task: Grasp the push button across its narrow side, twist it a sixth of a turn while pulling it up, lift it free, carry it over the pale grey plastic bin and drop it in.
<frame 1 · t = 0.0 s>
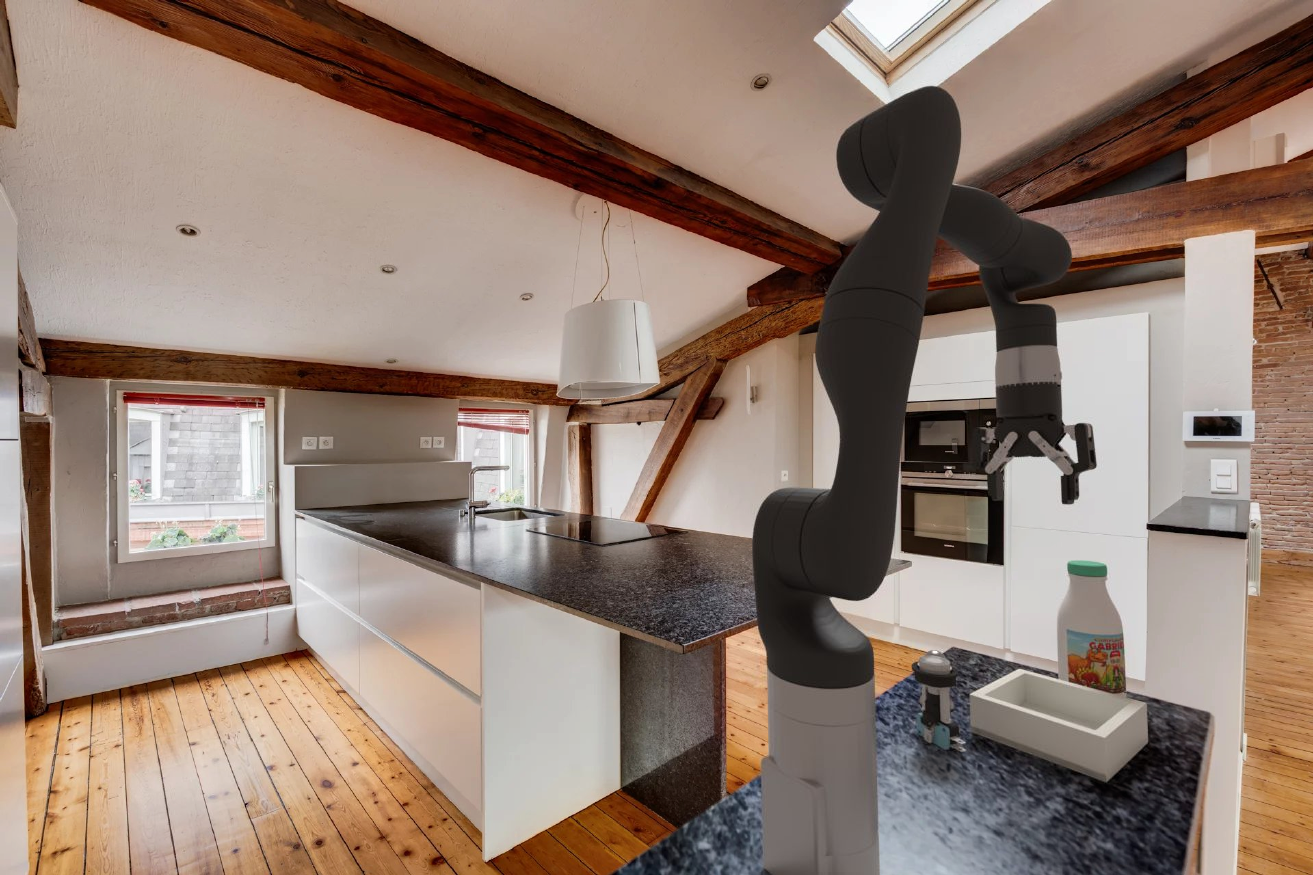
hand: (1031, 502, 78), 29 cm above the counter, fingers open, 8 cm apart
push button: (941, 744, 71), on the counter
milk bottle: (1092, 704, 82), on the counter
bin: (1057, 736, 72), on the counter
ball stud post: (936, 704, 82), on the counter
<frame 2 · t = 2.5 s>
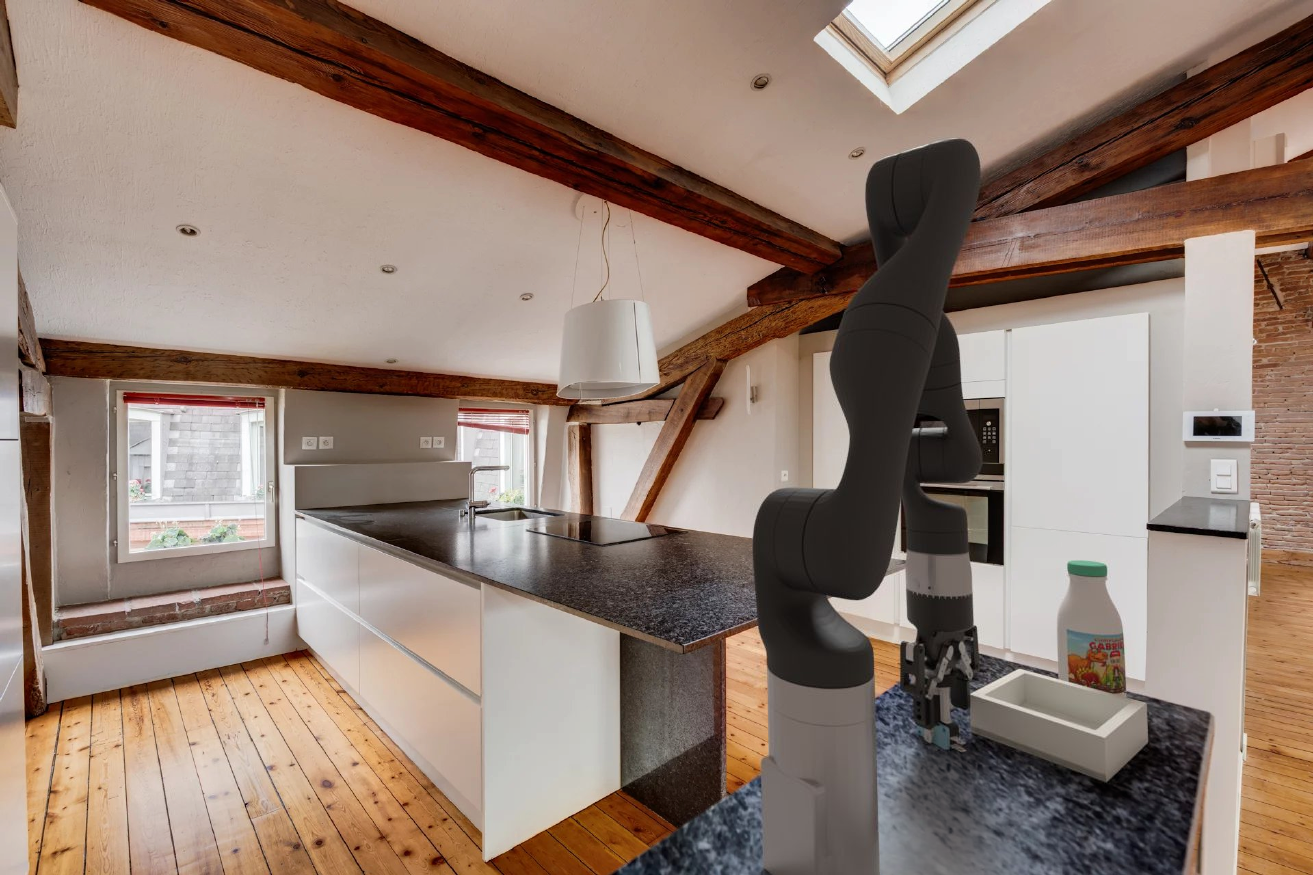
hand: (943, 716, 72), 3 cm above the counter, fingers open, 8 cm apart
nothing on the counter moved.
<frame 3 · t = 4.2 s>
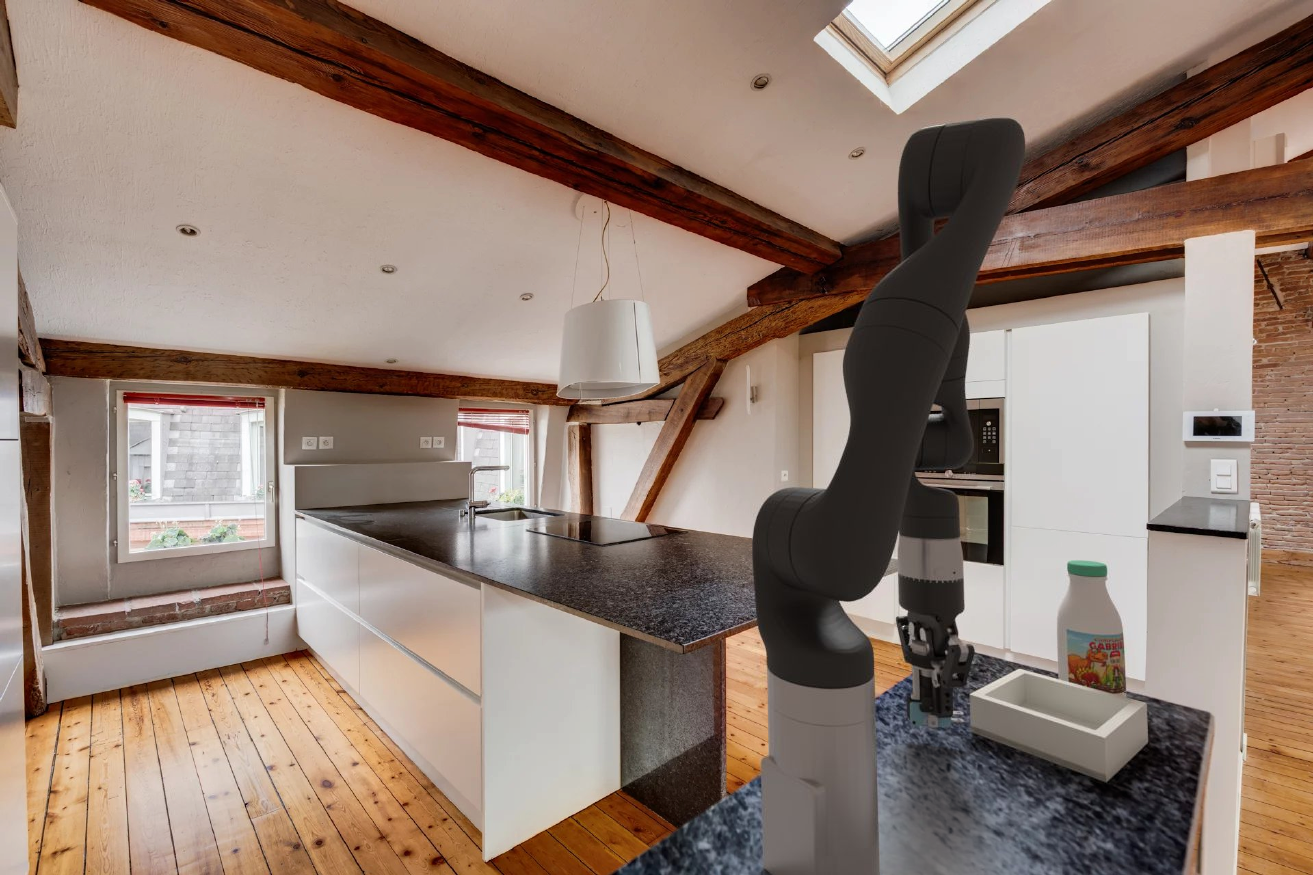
hand: (933, 708, 72), 4 cm above the counter, fingers closed on push button, 3 cm apart
push button: (935, 725, 72), point 2 cm above the counter, touching gripper
everything else where it was.
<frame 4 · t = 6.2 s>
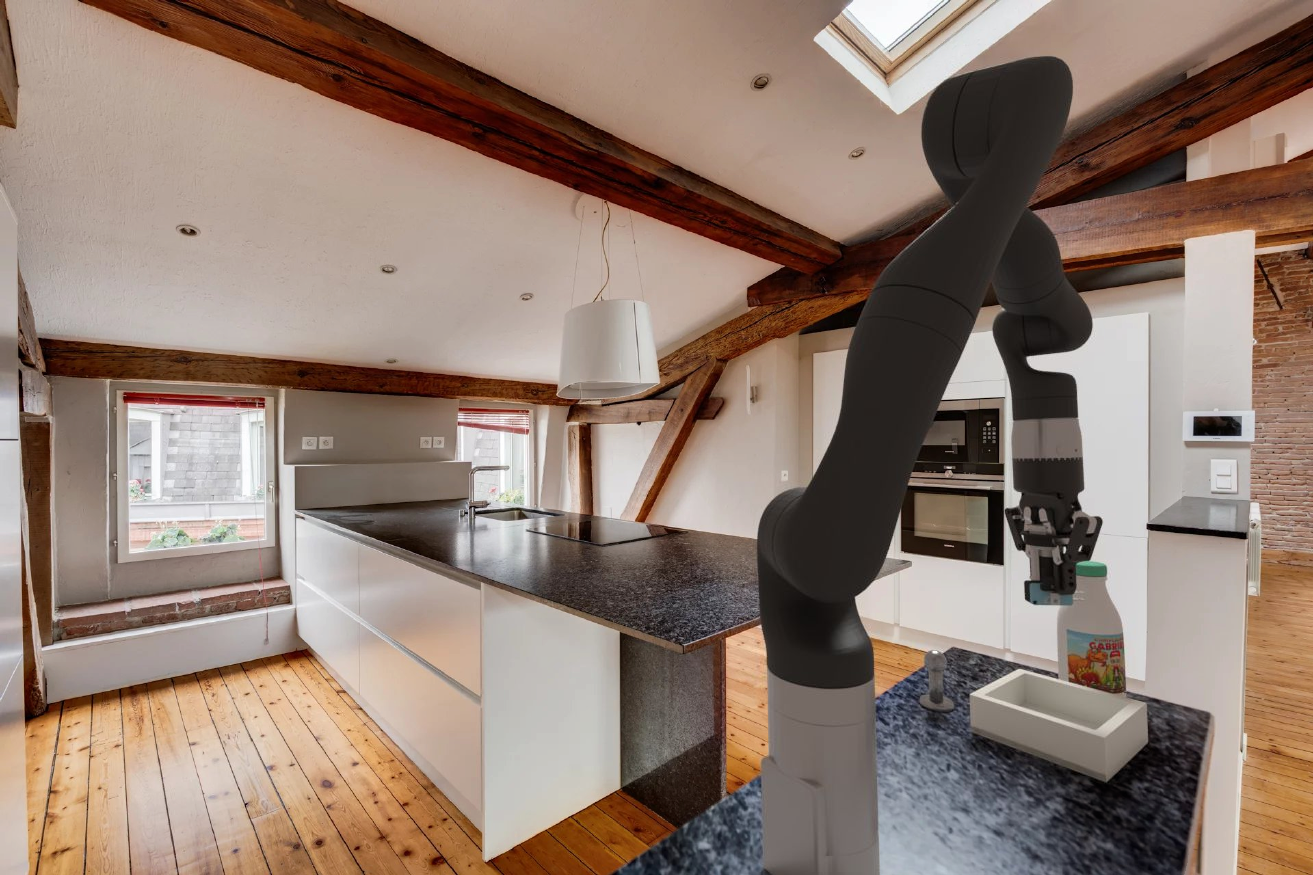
hand: (1052, 589, 73), 18 cm above the counter, fingers closed on push button, 3 cm apart
push button: (1055, 605, 73), point 17 cm above the counter, touching gripper
everything else where it was.
when the fingers open (5 cm above the counter, at t = 8.9 s): push button moves 1 cm, point 2 cm above the counter.
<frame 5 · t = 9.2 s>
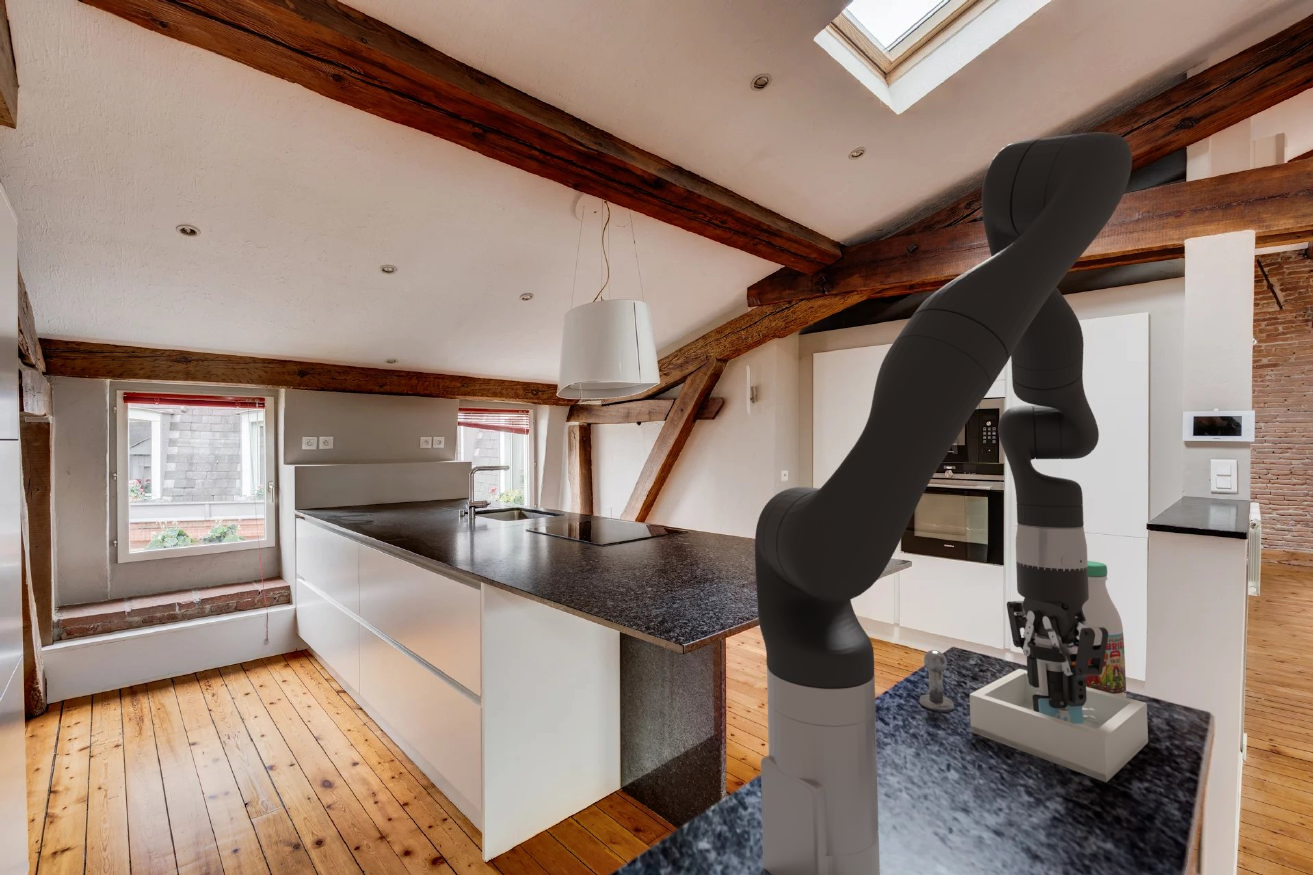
hand: (1055, 694, 73), 5 cm above the counter, fingers open, 5 cm apart
push button: (1065, 722, 71), point 2 cm above the counter, touching gripper
everything else where it was.
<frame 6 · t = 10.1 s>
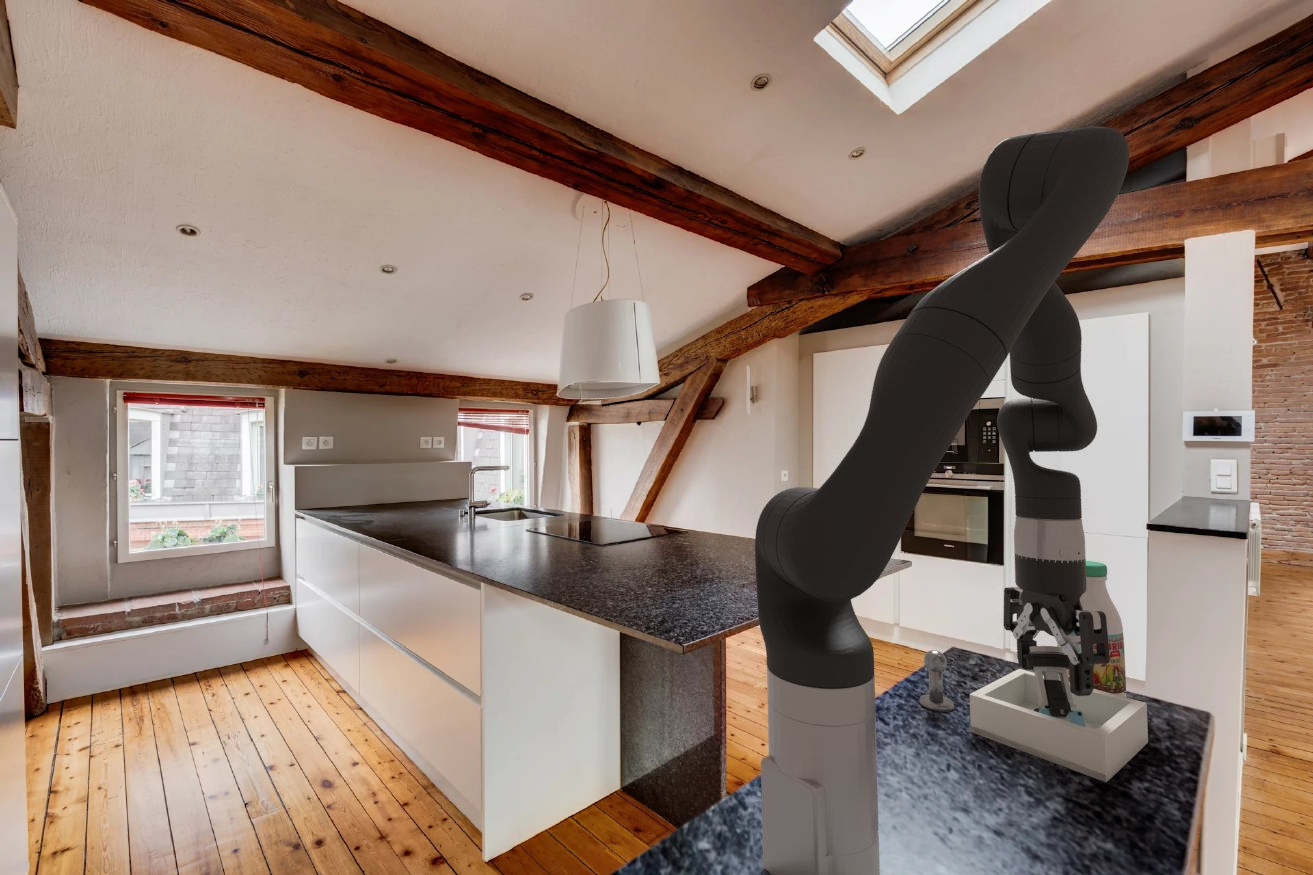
hand: (1052, 680, 73), 7 cm above the counter, fingers open, 8 cm apart
push button: (1069, 735, 70), point 1 cm above the counter, touching bin, gripper
everything else where it was.
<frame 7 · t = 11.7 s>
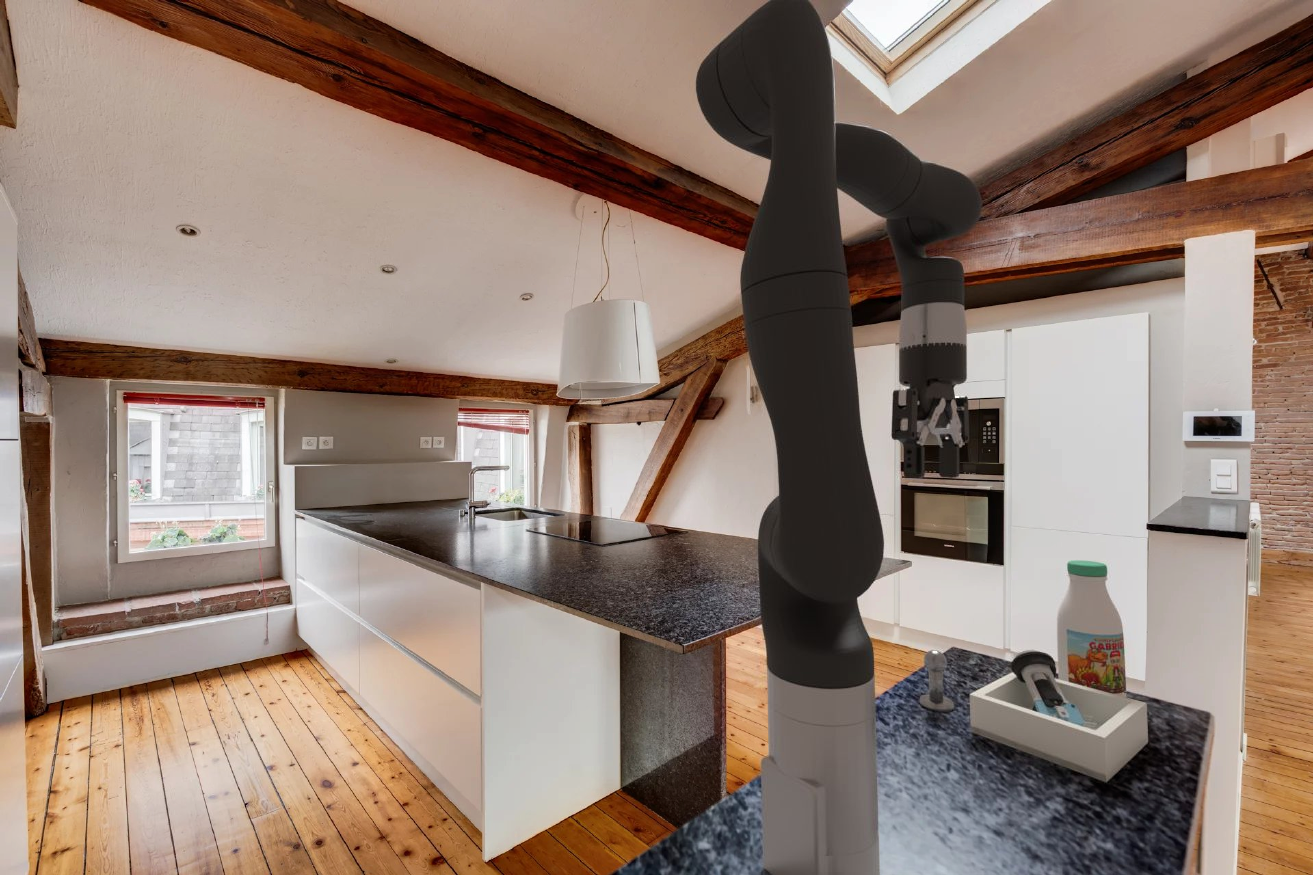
hand: (932, 477, 70), 33 cm above the counter, fingers open, 8 cm apart
push button: (1068, 727, 71), point 2 cm above the counter, touching bin
everything else where it was.
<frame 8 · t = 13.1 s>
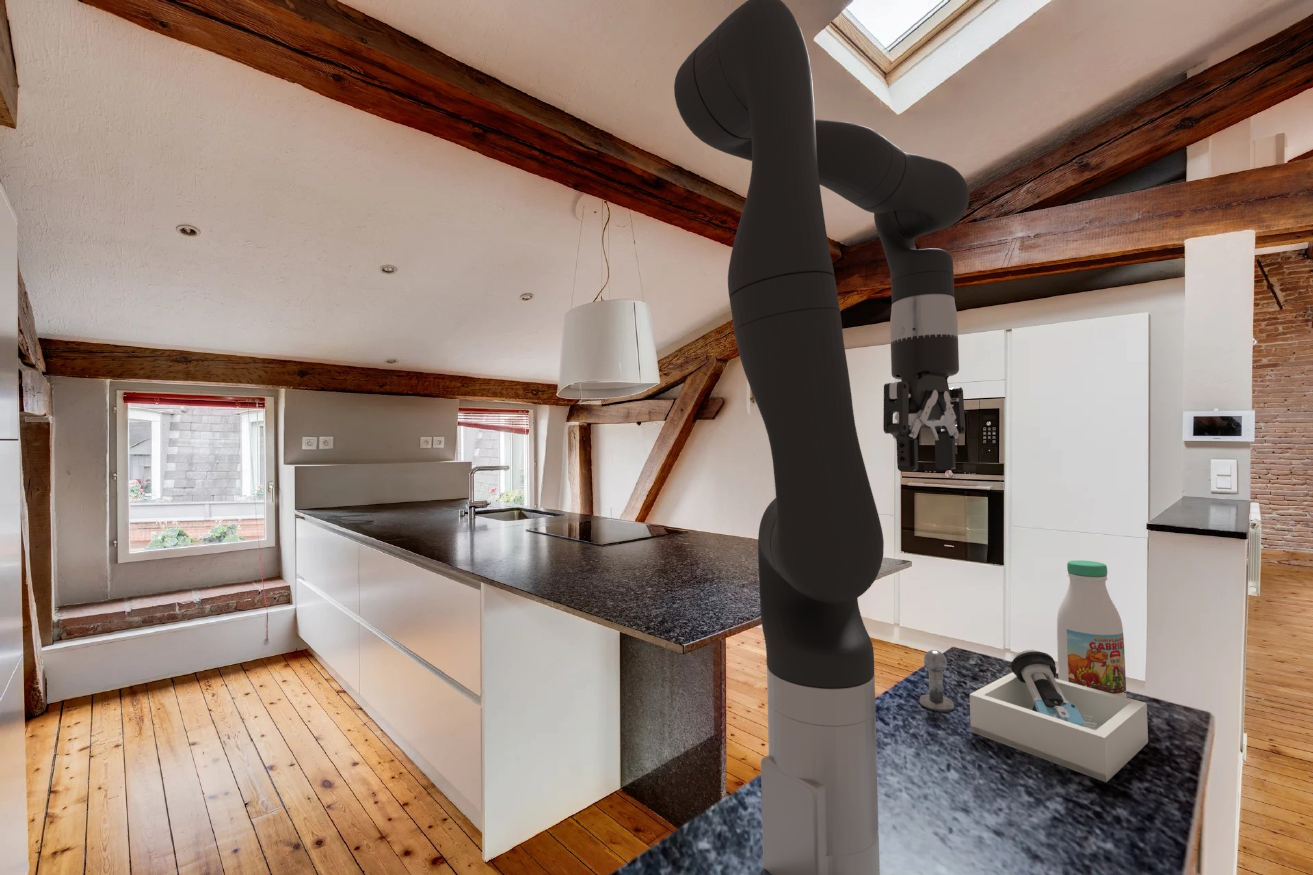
hand: (927, 470, 70), 34 cm above the counter, fingers open, 8 cm apart
nothing on the counter moved.
at the end: push button inside the target area on the bin (1.8 cm from its centre), point 2.0 cm above the bin's base; the gripper is holding nothing; push button moved 15.6 cm from its start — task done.
